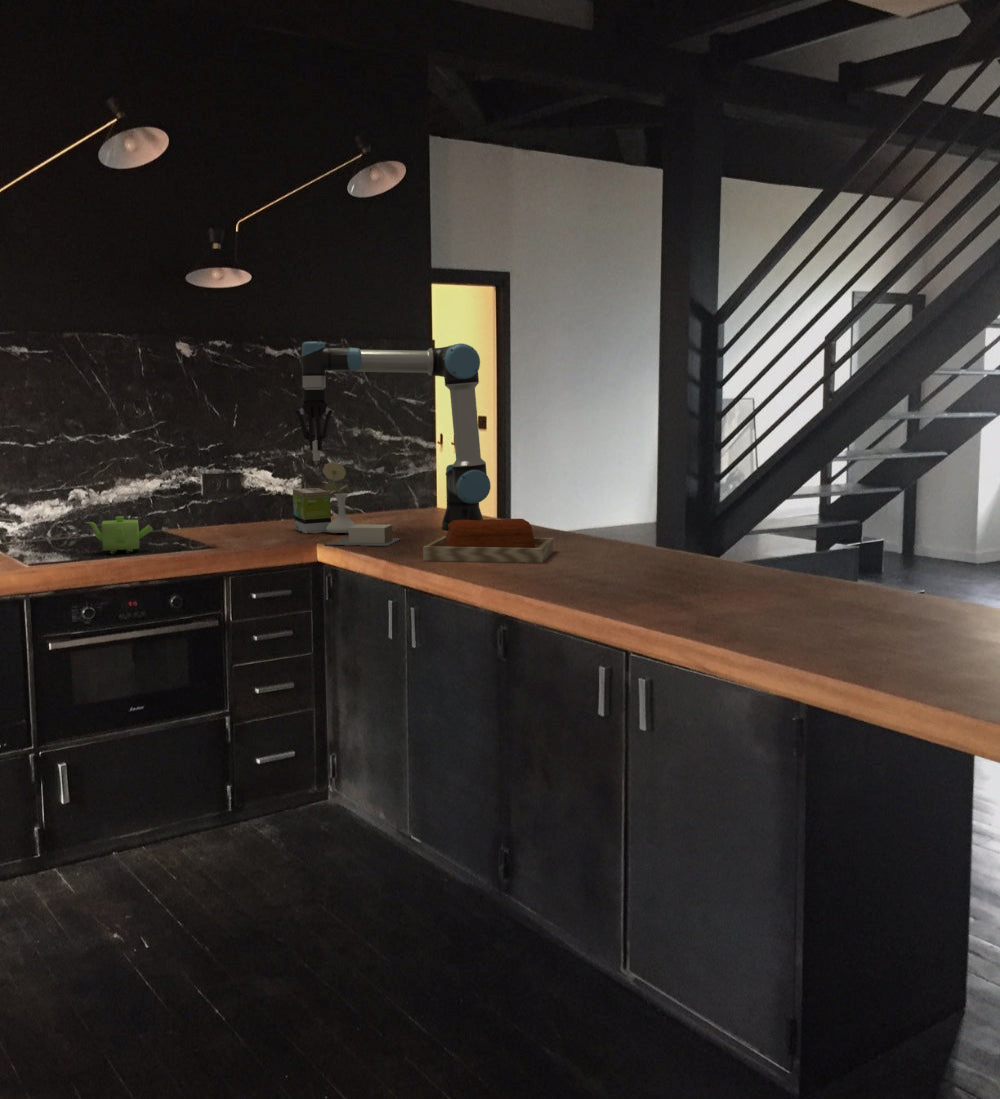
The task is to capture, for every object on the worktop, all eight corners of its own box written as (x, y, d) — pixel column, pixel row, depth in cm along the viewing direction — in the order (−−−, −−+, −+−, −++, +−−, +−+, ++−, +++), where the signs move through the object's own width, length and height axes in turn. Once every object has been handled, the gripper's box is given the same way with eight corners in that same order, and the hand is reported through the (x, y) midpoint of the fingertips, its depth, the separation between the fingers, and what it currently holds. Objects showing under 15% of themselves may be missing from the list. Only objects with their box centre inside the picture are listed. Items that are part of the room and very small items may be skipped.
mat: (400, 540, 379) (400, 538, 379) (387, 546, 363) (387, 544, 363) (340, 539, 383) (340, 537, 383) (324, 545, 367) (324, 543, 367)
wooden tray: (553, 554, 350) (553, 538, 350) (541, 566, 327) (541, 548, 326) (442, 552, 357) (442, 536, 356) (423, 563, 334) (423, 546, 333)
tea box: (293, 529, 411) (291, 488, 409) (320, 528, 415) (319, 487, 413) (304, 534, 398) (303, 492, 396) (332, 532, 402) (331, 490, 400)
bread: (538, 557, 336) (538, 521, 335) (448, 560, 332) (447, 524, 331) (529, 550, 351) (529, 515, 350) (443, 552, 348) (442, 518, 346)
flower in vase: (364, 532, 402) (363, 461, 398) (347, 536, 392) (345, 463, 388) (333, 530, 407) (331, 460, 404) (315, 534, 397) (313, 462, 394)
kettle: (86, 553, 355) (84, 517, 353) (120, 548, 367) (118, 513, 366) (122, 556, 348) (120, 519, 347) (155, 550, 361) (153, 515, 359)
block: (357, 539, 378) (392, 539, 376) (348, 542, 369) (385, 543, 367) (356, 524, 377) (392, 524, 375) (348, 527, 369) (384, 527, 366)
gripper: (336, 388, 380) (339, 459, 383) (299, 389, 382) (302, 459, 386) (329, 388, 373) (331, 461, 376) (291, 389, 375) (294, 461, 378)
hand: (316, 460), depth 381 cm, fingers closed
